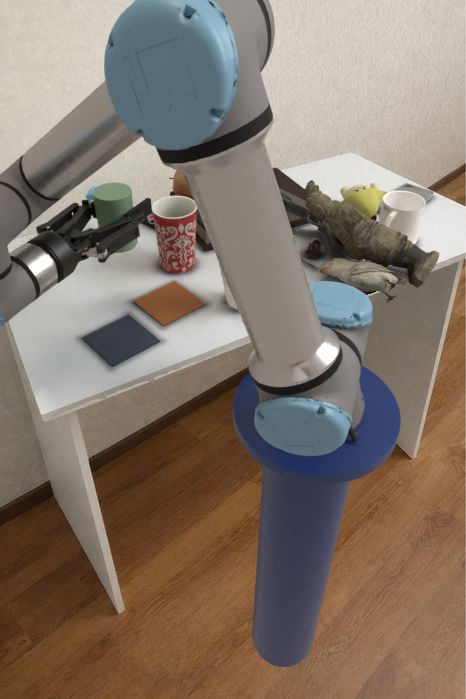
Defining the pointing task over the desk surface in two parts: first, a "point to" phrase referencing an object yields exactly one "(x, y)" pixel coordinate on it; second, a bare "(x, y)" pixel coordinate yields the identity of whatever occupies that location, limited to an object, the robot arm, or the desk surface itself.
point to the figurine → (314, 250)
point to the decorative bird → (364, 275)
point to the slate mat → (121, 340)
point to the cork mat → (169, 303)
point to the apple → (181, 185)
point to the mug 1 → (175, 232)
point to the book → (294, 220)
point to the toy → (364, 198)
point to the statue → (370, 237)
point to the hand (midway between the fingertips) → (133, 200)
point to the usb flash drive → (150, 220)
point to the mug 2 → (403, 212)
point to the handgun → (313, 221)
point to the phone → (415, 189)
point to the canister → (113, 206)
